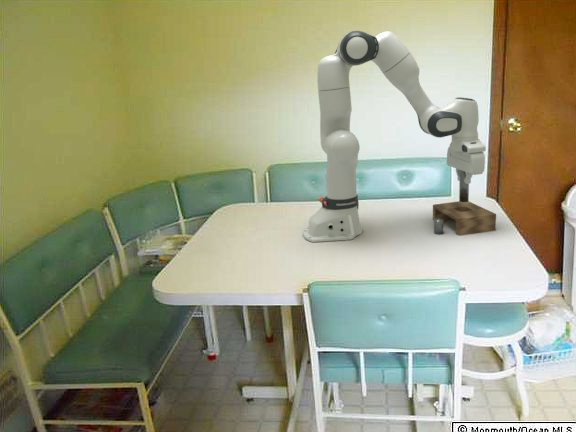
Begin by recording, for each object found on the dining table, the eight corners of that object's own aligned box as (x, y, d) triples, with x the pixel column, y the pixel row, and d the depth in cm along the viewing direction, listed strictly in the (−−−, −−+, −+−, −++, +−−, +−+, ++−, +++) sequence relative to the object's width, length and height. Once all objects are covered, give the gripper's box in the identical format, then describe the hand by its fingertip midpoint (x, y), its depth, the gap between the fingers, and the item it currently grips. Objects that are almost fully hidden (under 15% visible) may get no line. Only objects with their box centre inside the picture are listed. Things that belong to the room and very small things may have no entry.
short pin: (436, 235, 172) (436, 221, 171) (432, 232, 175) (432, 219, 174) (444, 233, 173) (445, 220, 171) (440, 231, 176) (440, 217, 174)
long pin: (462, 202, 176) (462, 164, 172) (457, 200, 179) (458, 163, 175) (470, 201, 177) (470, 163, 172) (465, 199, 180) (466, 162, 176)
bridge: (458, 235, 170) (458, 219, 168) (432, 219, 189) (432, 204, 187) (495, 230, 172) (496, 214, 170) (466, 214, 191) (466, 200, 189)
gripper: (442, 141, 181) (442, 177, 185) (471, 149, 162) (470, 189, 166) (458, 139, 182) (457, 175, 186) (488, 147, 163) (487, 187, 167)
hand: (464, 182), depth 176 cm, fingers closed on long pin, 3 cm apart
